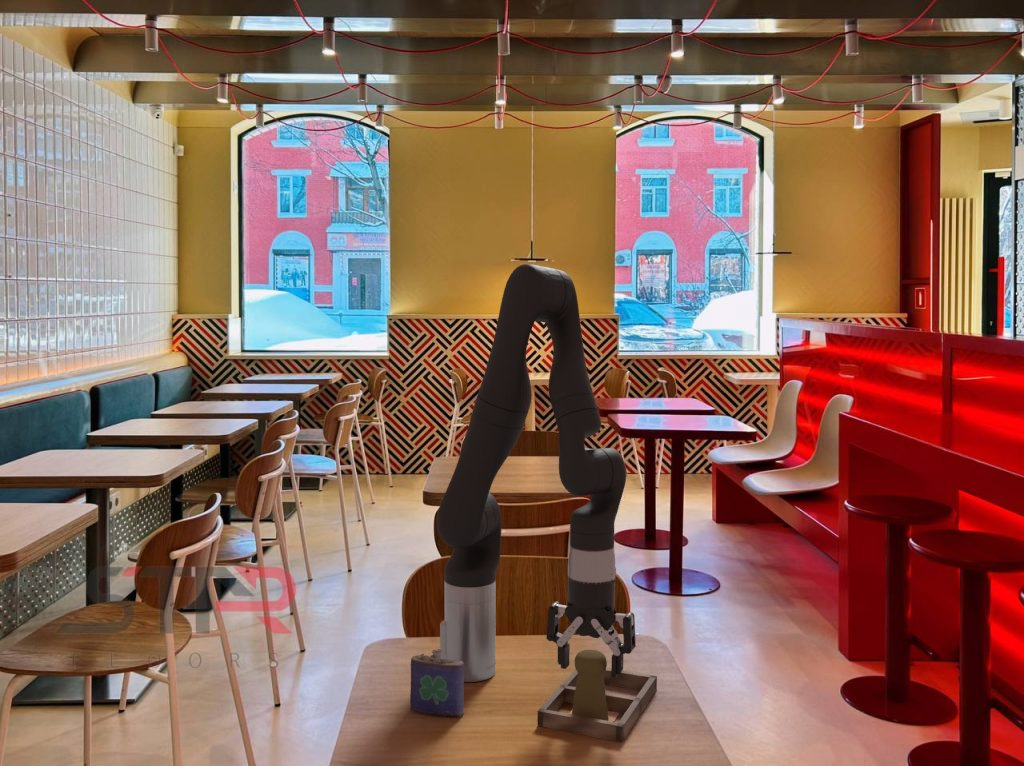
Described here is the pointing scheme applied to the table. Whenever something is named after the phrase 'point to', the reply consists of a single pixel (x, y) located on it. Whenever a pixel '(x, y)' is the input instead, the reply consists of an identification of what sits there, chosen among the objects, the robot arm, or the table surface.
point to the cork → (590, 685)
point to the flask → (437, 686)
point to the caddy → (614, 703)
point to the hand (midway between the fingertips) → (590, 671)
